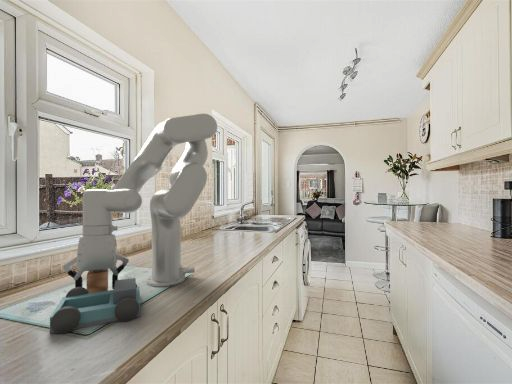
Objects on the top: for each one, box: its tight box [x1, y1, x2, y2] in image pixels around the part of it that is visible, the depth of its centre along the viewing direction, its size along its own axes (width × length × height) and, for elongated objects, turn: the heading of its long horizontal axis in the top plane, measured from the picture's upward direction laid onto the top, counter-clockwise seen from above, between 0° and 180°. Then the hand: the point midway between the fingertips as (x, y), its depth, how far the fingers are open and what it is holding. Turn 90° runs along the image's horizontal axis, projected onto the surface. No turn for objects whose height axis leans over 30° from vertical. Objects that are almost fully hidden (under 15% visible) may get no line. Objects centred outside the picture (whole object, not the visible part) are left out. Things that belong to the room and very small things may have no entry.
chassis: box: [49, 277, 142, 335], centre depth 66 cm, size 18×15×6 cm
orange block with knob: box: [86, 269, 109, 293], centre depth 78 cm, size 5×5×8 cm
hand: (97, 289), depth 78 cm, fingers open, 8 cm apart
